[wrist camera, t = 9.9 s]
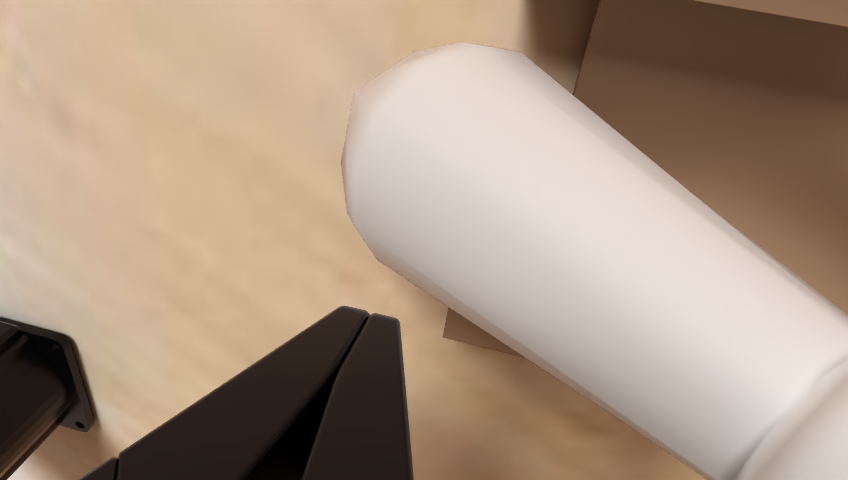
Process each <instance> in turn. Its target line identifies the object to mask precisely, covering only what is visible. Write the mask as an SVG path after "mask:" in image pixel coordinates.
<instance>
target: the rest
mask: <svg viewBox="0 0 848 480" xmlns="http://www.w3.org/2000/svg"><path fill="white" fill-rule="evenodd" d="M573 96H574V97H576V98H577V99H578V100H579V101H581V102H582V103H583V104H584V105H585V106H587V107H588V108H589V109H590V110H591V111H593V112H594V113H595V114H596V115H598V116H599V117H600V118H601V119H602V120H604V121H605V122H606V123H607V124H608V125H610V126H611V127H612V128H613V129H614V130H616V131H617V132H618V133H619V134H621V135H622V136H623V137H624V138H625V139H627V140H628V141H629V142H630V143H631V144H633V145H634V146H635V147H636V148H638V149H639V150H640V151H641V152H642V153H644V154H645V155H646V156H647V157H648V158H650V159H651V160H652V161H653V162H655V163H656V164H657V165H658V166H659V167H661V168H662V169H663V170H664V171H665V172H667V173H668V174H669V175H670V176H671V177H673V178H674V179H675V180H676V181H678V182H679V183H680V184H681V185H682V186H684V187H685V188H686V189H687V190H688V191H690V192H691V193H692V194H694V195H695V196H696V197H697V198H699V199H700V200H701V201H703V202H704V203H705V204H706V205H708V206H709V207H710V208H712V209H713V210H714V211H715V212H717V213H718V214H719V215H721V216H722V217H723V218H724V219H726V220H727V221H728V222H730V223H731V224H732V225H733V226H735V227H736V228H737V229H739V230H740V231H741V232H742V233H744V234H745V235H746V236H748V237H749V238H750V239H751V240H753V241H754V242H755V243H757V244H758V245H759V246H760V247H762V248H763V249H764V250H766V251H767V252H768V253H769V254H771V255H772V256H773V257H774V258H776V259H777V260H778V261H780V262H781V263H782V264H783V265H785V266H786V267H787V268H789V269H790V270H791V271H792V272H794V273H795V274H796V275H798V276H799V277H800V278H801V279H803V280H804V281H805V282H807V283H808V284H809V285H810V286H812V287H813V288H814V289H816V290H817V291H818V292H819V293H821V294H822V295H823V296H825V297H826V298H827V299H828V300H830V301H831V302H832V303H834V304H835V305H836V306H837V307H839V308H840V309H841V310H843V311H844V312H845V313H846V314H848V0H599V4H598V7H597V11H596V14H595V18H594V21H593V25H592V28H591V32H590V35H589V39H588V42H587V46H586V50H585V53H584V57H583V60H582V64H581V67H580V71H579V74H578V78H577V81H576V85H575V88H574V92H573ZM443 337H444V338H448V339H452V340H456V341H460V342H464V343H468V344H472V345H476V346H480V347H484V348H488V349H492V350H496V351H500V352H504V353H508V354H512V355H516V356H520V357H524V356H522V355H521V354H519V353H518V352H516V351H515V350H513V349H512V348H510V347H509V346H507V345H506V344H504V343H503V342H501V341H500V340H498V339H497V338H495V337H494V336H492V335H490V334H489V333H487V332H486V331H484V330H483V329H481V328H480V327H478V326H477V325H475V324H474V323H472V322H471V321H469V320H468V319H466V318H465V317H463V316H462V315H460V314H459V313H457V312H456V311H454V310H453V309H451V308H448V313H447V318H446V323H445V328H444V333H443ZM524 358H525V357H524Z"/></svg>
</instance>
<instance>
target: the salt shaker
mask: <svg viewBox="0 0 848 480" xmlns="http://www.w3.org/2000/svg"><path fill="white" fill-rule="evenodd" d="M341 167H342V175H343V184H344V192H345V200H346V208H347V213H348V215H349V217H350V219H351V221H352V223H353V225H354V226H355V228H356V229H357V231H358V232H359V234H360V235H361V237H362V238H363V240H364V241H365V242H366V244H367V245H368V247H369V248H370V250H371V251H372V253H373V254H374V256H375V257H376V259H377V260H378V261H380V262H381V263H383V264H384V265H386V266H387V267H389V268H390V269H392V270H393V271H395V272H396V273H398V274H399V275H401V276H402V277H404V278H405V279H407V280H408V281H410V282H411V283H413V284H415V285H416V286H418V287H419V288H421V289H422V290H424V291H425V292H427V293H428V294H430V295H431V296H433V297H434V298H436V299H437V300H439V301H440V302H442V303H443V304H445V305H446V306H448V307H449V308H451V309H453V310H454V311H456V312H457V313H459V314H460V315H462V316H463V317H465V318H466V319H468V320H469V321H471V322H472V323H474V324H475V325H477V326H478V327H480V328H481V329H483V330H484V331H486V332H487V333H489V334H490V335H492V336H494V337H495V338H497V339H498V340H500V341H501V342H503V343H504V344H506V345H507V346H509V347H510V348H512V349H513V350H515V351H516V352H518V353H519V354H521V355H522V356H524V357H525V358H527V359H528V360H530V361H532V362H533V363H535V364H536V365H538V366H539V367H541V368H542V369H544V370H545V371H547V372H548V373H550V374H551V375H553V376H554V377H556V378H557V379H559V380H560V381H562V382H563V383H565V384H566V385H568V386H569V387H571V388H573V389H574V390H576V391H577V392H579V393H580V394H582V395H583V396H585V397H586V398H588V399H589V400H591V401H592V402H594V403H595V404H597V405H598V406H600V407H601V408H603V409H604V410H606V411H607V412H609V413H610V414H612V415H614V416H615V417H617V418H618V419H620V420H621V421H623V422H624V423H626V424H627V425H629V426H630V427H632V428H633V429H635V430H636V431H638V432H639V433H641V434H642V435H643V436H645V437H646V438H648V439H649V440H651V441H652V442H654V443H655V444H656V445H658V446H659V447H661V448H662V449H664V450H665V451H667V452H668V453H669V454H671V455H672V456H674V457H675V458H677V459H678V460H679V461H681V462H682V463H684V464H685V465H687V466H688V467H690V468H691V469H692V470H694V471H695V472H697V473H698V474H700V475H701V476H702V477H704V478H705V479H707V480H848V314H846V313H845V312H844V311H843V310H841V309H840V308H839V307H837V306H836V305H835V304H834V303H832V302H831V301H830V300H828V299H827V298H826V297H825V296H823V295H822V294H821V293H819V292H818V291H817V290H816V289H814V288H813V287H812V286H810V285H809V284H808V283H807V282H805V281H804V280H803V279H801V278H800V277H799V276H798V275H796V274H795V273H794V272H792V271H791V270H790V269H789V268H787V267H786V266H785V265H783V264H782V263H781V262H780V261H778V260H777V259H776V258H774V257H773V256H772V255H771V254H769V253H768V252H767V251H766V250H764V249H763V248H762V247H760V246H759V245H758V244H757V243H755V242H754V241H753V240H751V239H750V238H749V237H748V236H746V235H745V234H744V233H742V232H741V231H740V230H739V229H737V228H736V227H735V226H733V225H732V224H731V223H730V222H728V221H727V220H726V219H724V218H723V217H722V216H721V215H719V214H718V213H717V212H715V211H714V210H713V209H712V208H710V207H709V206H708V205H706V204H705V203H704V202H703V201H701V200H700V199H699V198H697V197H696V196H695V195H694V194H692V193H691V192H690V191H688V190H687V189H686V188H685V187H684V186H682V185H681V184H680V183H679V182H678V181H676V180H675V179H674V178H673V177H671V176H670V175H669V174H668V173H667V172H665V171H664V170H663V169H662V168H661V167H659V166H658V165H657V164H656V163H655V162H653V161H652V160H651V159H650V158H648V157H647V156H646V155H645V154H644V153H642V152H641V151H640V150H639V149H638V148H636V147H635V146H634V145H633V144H631V143H630V142H629V141H628V140H627V139H625V138H624V137H623V136H622V135H621V134H619V133H618V132H617V131H616V130H614V129H613V128H612V127H611V126H610V125H608V124H607V123H606V122H605V121H604V120H602V119H601V118H600V117H599V116H598V115H596V114H595V113H594V112H593V111H591V110H590V109H589V108H588V107H587V106H585V105H584V104H583V103H582V102H581V101H579V100H578V99H577V98H576V97H574V96H573V95H572V94H571V93H570V92H568V91H567V90H566V89H565V88H564V87H562V86H561V85H560V84H559V83H557V82H556V81H555V80H554V79H553V78H551V77H550V76H549V75H548V74H547V73H545V72H544V71H543V70H542V69H541V68H539V67H538V66H537V65H536V64H534V63H533V62H532V61H531V60H530V59H528V58H527V57H526V56H525V55H524V54H522V53H520V52H515V51H511V50H507V49H502V48H495V47H489V46H483V45H476V44H470V43H464V42H459V43H454V44H449V45H444V46H439V47H434V48H429V49H424V50H419V51H414V52H412V53H411V54H409V55H408V56H406V57H405V58H403V59H402V60H400V61H399V62H398V63H396V64H395V65H393V66H392V67H390V68H389V69H387V70H386V71H384V72H383V73H382V74H380V75H379V76H377V77H376V78H374V79H373V80H371V81H370V82H368V83H367V84H365V85H364V86H363V87H361V88H360V89H358V90H357V91H355V92H354V94H353V100H352V105H351V110H350V116H349V121H348V127H347V132H346V137H345V143H344V148H343V154H342V159H341Z"/></svg>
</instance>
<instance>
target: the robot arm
mask: <svg viewBox="0 0 848 480" xmlns="http://www.w3.org/2000/svg"><path fill="white" fill-rule="evenodd" d="M59 425H62V426H65V427H69V428H72V429H75V430H79V431H83V432H87V431H88V430H89V429H90V428H91V427H92V426H93V425H94V418H93V415H92V412H91V409H90V405H89V402H88V399H87V396H86V392H85V389H84V386H83V383H82V379H81V376H80V373H79V370H78V366H77V363H76V360H75V357H74V353H73V350H72V347H71V344H70V342H69V340H68V339H67V338H66V337H65V336H63V335H62V334H59V333H56V332H53V331H49V330H45V329H42V328H38V327H34V326H30V325H27V324H23V323H19V322H16V321H12V320H8V319H4V318H1V317H0V480H7V479H8V478H9V477H10V476H11V475H12V474H13V473H14V472H15V471H16V470H17V469H18V468H19V466H20V465H21V464H22V463H23V462H24V461H25V460H26V459H27V458H28V457H29V456H30V455H31V454H32V453H33V452H34V451H35V450H36V449H37V448H38V447H39V446H40V445H41V443H42V442H43V441H44V440H45V439H46V438H47V437H48V436H49V435H50V434H51V433H52V432H53V431H54V430H55V429H56V428H57V427H58V426H59ZM79 480H414V478H413V466H412V455H411V444H410V432H409V421H408V410H407V398H406V387H405V376H404V364H403V353H402V342H401V331H400V322H399V320H398V319H397V318H393V317H389V316H385V315H381V314H377V313H374V314H371V315H370V314H369V313H368V312H367V311H365V310H361V309H357V308H353V307H349V306H341V307H339V308H337V309H336V310H334V311H333V312H331V313H330V314H328V315H327V316H325V317H324V318H322V319H320V320H319V321H317V322H316V323H314V324H313V325H311V326H310V327H308V328H307V329H305V330H304V331H302V332H301V333H299V334H298V335H296V336H295V337H293V338H292V339H290V340H289V341H287V342H286V343H284V344H283V345H281V346H280V347H278V348H277V349H275V350H274V351H272V352H271V353H269V354H268V355H266V356H265V357H263V358H262V359H260V360H259V361H257V362H256V363H254V364H253V365H251V366H250V367H248V368H247V369H245V370H244V371H242V372H241V373H239V374H238V375H236V376H235V377H233V378H232V379H230V380H229V381H227V382H226V383H224V384H223V385H221V386H219V387H218V388H216V389H215V390H213V391H212V392H210V393H209V394H207V395H206V396H204V397H203V398H201V399H200V400H198V401H197V402H195V403H194V404H192V405H191V406H189V407H188V408H186V409H185V410H183V411H182V412H180V413H179V414H177V415H176V416H174V417H173V418H171V419H170V420H168V421H167V422H165V423H164V424H162V425H161V426H159V427H158V428H156V429H155V430H153V431H152V432H150V433H149V434H147V435H146V436H144V437H143V438H141V439H140V440H138V441H137V442H135V443H134V444H132V445H131V446H129V447H128V448H126V449H125V450H123V451H122V452H120V454H119V457H118V458H116V457H112V458H110V459H109V460H107V461H106V462H104V463H103V464H101V465H100V466H98V467H97V468H95V469H94V470H92V471H91V472H89V473H88V474H86V475H85V476H83V477H82V478H80V479H79Z"/></svg>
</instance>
